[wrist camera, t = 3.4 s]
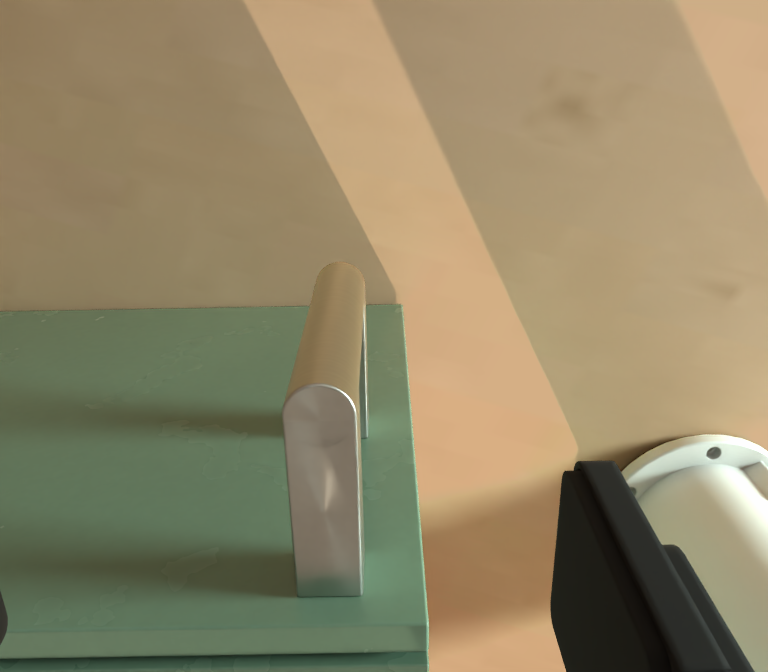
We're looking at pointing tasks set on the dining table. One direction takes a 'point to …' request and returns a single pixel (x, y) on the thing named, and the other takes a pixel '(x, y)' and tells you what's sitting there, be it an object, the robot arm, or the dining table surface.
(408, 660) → the mini fridge
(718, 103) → the dining table surface
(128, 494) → the fridge door
